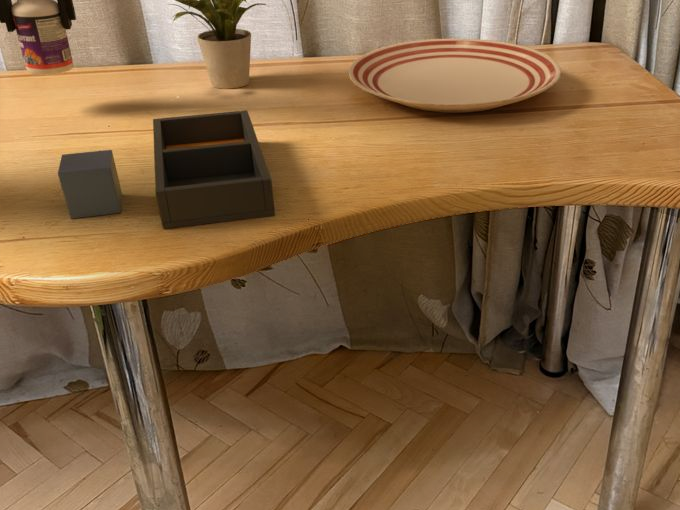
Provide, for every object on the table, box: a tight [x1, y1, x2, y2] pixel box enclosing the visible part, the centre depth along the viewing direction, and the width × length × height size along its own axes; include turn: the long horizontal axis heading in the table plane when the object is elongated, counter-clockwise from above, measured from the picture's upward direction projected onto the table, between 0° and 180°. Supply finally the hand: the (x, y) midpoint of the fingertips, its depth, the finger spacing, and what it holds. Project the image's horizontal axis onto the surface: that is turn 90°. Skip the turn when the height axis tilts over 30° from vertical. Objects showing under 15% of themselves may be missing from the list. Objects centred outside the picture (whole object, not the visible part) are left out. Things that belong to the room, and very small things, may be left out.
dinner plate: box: [348, 38, 562, 114], centre depth 97 cm, size 28×27×3 cm
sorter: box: [152, 110, 276, 230], centre depth 74 cm, size 10×19×4 cm, turn 15°
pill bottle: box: [11, 0, 74, 76], centre depth 87 cm, size 5×5×10 cm
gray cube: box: [57, 149, 123, 220], centre depth 69 cm, size 4×4×4 cm
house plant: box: [167, 0, 269, 90], centre depth 98 cm, size 14×14×16 cm
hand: (40, 26), depth 87 cm, fingers closed on pill bottle, 5 cm apart
